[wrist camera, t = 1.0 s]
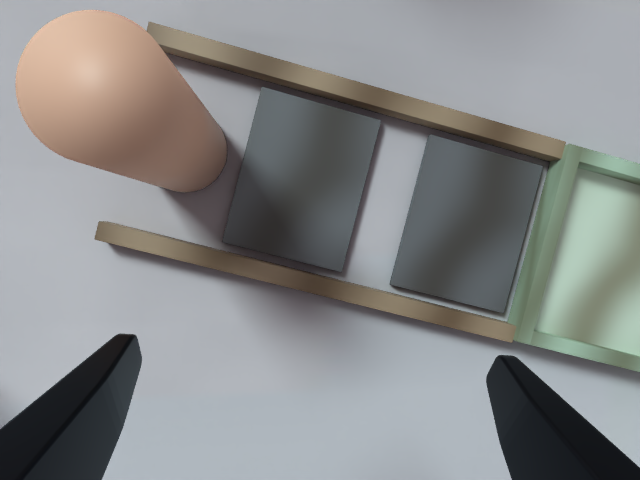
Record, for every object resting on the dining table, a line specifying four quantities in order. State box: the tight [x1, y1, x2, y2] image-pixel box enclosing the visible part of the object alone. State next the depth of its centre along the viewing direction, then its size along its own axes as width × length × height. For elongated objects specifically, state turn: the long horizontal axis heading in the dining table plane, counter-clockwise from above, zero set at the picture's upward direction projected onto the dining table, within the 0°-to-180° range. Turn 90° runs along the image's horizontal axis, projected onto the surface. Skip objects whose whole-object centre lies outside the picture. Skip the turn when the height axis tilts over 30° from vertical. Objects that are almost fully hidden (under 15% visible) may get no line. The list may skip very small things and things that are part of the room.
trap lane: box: [95, 22, 640, 372], centre depth 23 cm, size 36×12×1 cm, turn 75°
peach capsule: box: [16, 10, 227, 192], centre depth 17 cm, size 5×5×10 cm
